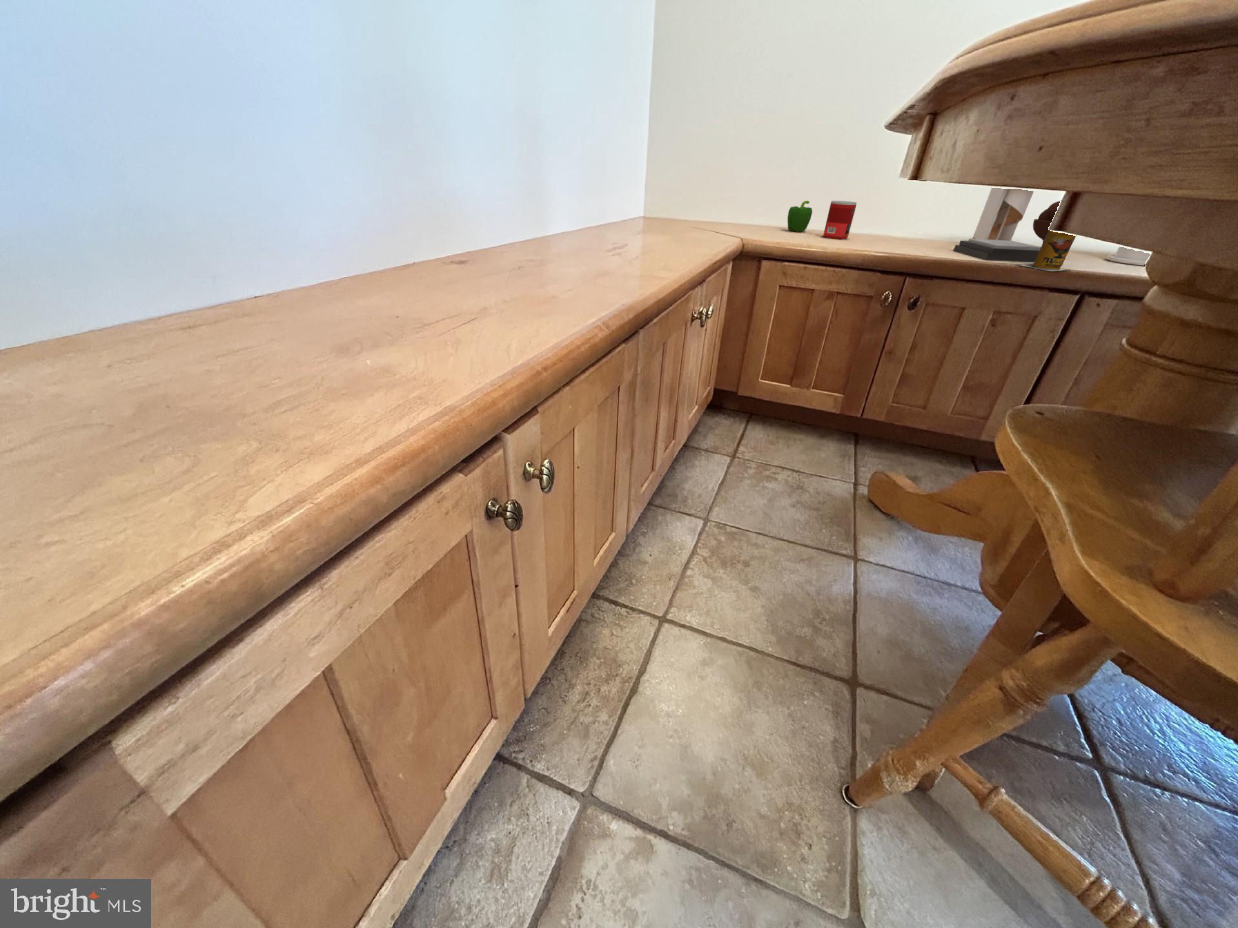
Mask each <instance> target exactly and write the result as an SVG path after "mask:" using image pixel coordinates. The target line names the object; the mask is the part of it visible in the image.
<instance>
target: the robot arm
mask: <svg viewBox="0 0 1238 928" xmlns="http://www.w3.org/2000/svg"><path fill="white" fill-rule="evenodd" d="M1149 256H1150V254H1149V253H1144V252H1142V251H1135V250H1133V249H1127V248H1124V247H1120V246H1119V247H1118V248H1117V251H1116V252H1115V254H1108V255H1107V256H1106V260H1107V261H1110V262H1114V263H1120V264H1127V265H1135V266H1144V264H1145V262H1146V260H1147V259H1148V257H1149Z"/></svg>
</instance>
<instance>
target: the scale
mask: <svg viewBox="0 0 1238 928" xmlns="http://www.w3.org/2000/svg"><path fill="white" fill-rule="evenodd" d="M953 252H955V253H960V254H963V255H967V256H971V257H974V258H977V259H981V260H984V261H999V262H1000V261H1001V262H1002V261H1004V262H1021V263H1022V262H1023V263H1024V262H1026V263H1034V261H1035V259H1036V257H1037V255H1038V253H1039V250H1025V249H1002V248H992V247H988V246H984V245H980V244H976V243H972V242H968V240H960V241H959V244H955V245H954V248H953Z"/></svg>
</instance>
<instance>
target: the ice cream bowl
mask: <svg viewBox="0 0 1238 928" xmlns="http://www.w3.org/2000/svg"><path fill="white" fill-rule="evenodd" d="M1060 201H1061V200H1057V201H1055V202H1053V203H1051V204H1050V205H1049V206H1048V207H1047V208H1046V209H1044V210H1043V211H1042V212H1041V213H1040V214H1039V215H1038V218H1034V219H1033V223H1032V230H1033V232H1034V234H1035V235H1036V237H1038V238H1039V239H1040V240H1042V242H1043V241H1044V239H1045V237H1046V235H1047V233H1048V231H1049V230H1048V227H1049V226H1050V223H1051V222H1052V219H1053V217H1054V215H1055V212H1056V211H1057V207H1058V206H1059V203H1060Z"/></svg>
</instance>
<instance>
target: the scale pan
mask: <svg viewBox="0 0 1238 928" xmlns="http://www.w3.org/2000/svg"><path fill="white" fill-rule="evenodd" d="M967 241H968V242H972V243H976V244H980V245H984V246H988V247H992V248H1002V249H1025V250H1040V248H1041V246H1038V245H1033V244H1028V243H1025V242H1020V241H1016V240H1015V241H1014V240H1011V241H1009V240H986V239H972V238H968V240H967Z"/></svg>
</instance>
